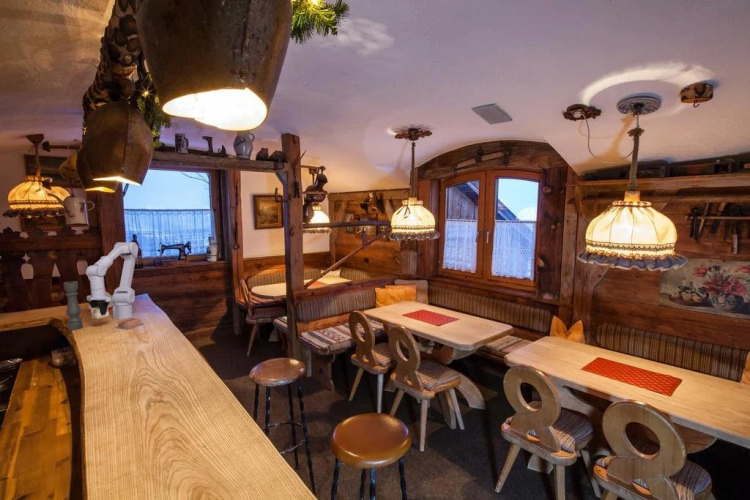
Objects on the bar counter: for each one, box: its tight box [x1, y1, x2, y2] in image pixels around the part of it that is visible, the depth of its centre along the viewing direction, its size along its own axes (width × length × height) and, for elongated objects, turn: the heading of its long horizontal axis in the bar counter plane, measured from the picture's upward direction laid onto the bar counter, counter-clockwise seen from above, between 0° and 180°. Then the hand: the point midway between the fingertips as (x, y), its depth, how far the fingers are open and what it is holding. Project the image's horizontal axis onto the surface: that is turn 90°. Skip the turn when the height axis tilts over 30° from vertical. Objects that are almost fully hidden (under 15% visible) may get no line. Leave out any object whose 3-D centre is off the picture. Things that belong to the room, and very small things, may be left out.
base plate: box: [113, 322, 144, 331], centre depth 197 cm, size 10×10×2 cm
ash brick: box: [90, 307, 110, 320], centre depth 194 cm, size 4×6×5 cm, turn 162°
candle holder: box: [63, 280, 84, 332], centre depth 195 cm, size 6×6×25 cm
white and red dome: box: [87, 287, 115, 313], centre depth 234 cm, size 14×14×15 cm
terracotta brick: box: [117, 317, 141, 329], centre depth 196 cm, size 7×7×3 cm
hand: (100, 314), depth 194 cm, fingers closed on ash brick, 4 cm apart
